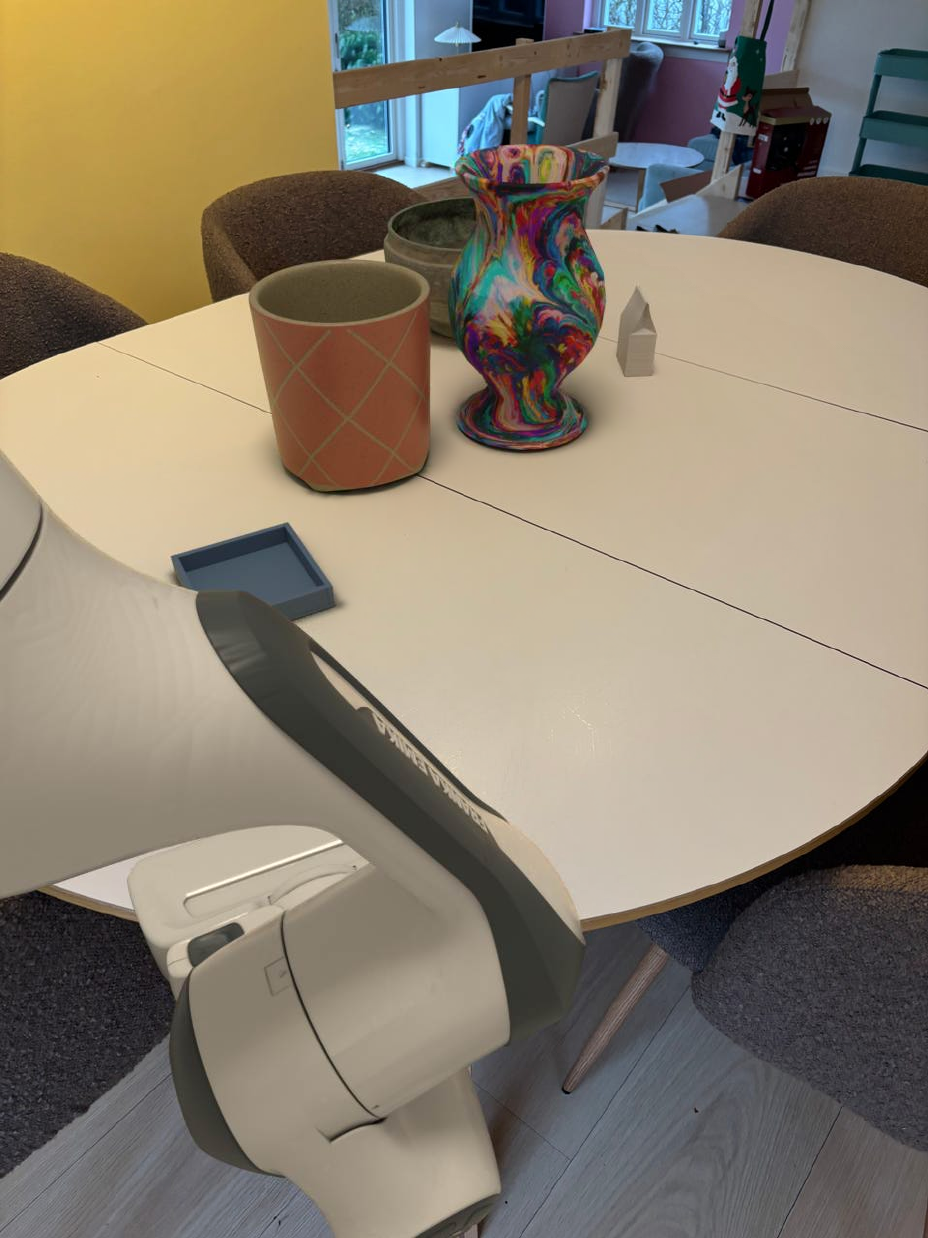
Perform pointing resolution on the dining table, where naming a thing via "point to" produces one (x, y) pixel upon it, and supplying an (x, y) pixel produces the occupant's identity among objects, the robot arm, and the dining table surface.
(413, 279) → the planter
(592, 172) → the vase
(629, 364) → the gable top carton
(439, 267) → the bowl
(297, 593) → the tray
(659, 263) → the dining table surface
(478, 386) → the dining table surface
